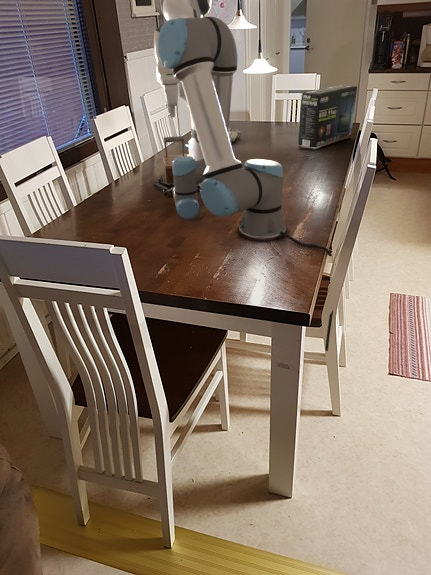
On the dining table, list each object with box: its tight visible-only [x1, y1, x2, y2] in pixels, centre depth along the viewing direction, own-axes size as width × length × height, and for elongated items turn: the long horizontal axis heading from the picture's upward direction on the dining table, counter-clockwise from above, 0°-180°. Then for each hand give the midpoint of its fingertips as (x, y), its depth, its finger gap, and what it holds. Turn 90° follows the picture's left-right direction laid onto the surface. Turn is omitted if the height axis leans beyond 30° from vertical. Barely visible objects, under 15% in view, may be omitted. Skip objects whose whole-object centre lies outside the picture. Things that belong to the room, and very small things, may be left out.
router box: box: [297, 84, 358, 151], centre depth 238 cm, size 36×11×27 cm, turn 134°
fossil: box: [228, 127, 242, 144], centre depth 256 cm, size 18×11×15 cm
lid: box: [162, 135, 187, 169], centre depth 181 cm, size 16×10×9 cm, turn 9°
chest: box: [162, 159, 174, 197], centre depth 186 cm, size 15×10×11 cm, turn 9°
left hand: (171, 114), depth 179 cm, fingers open, 8 cm apart
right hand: (178, 177), depth 181 cm, fingers open, 13 cm apart
